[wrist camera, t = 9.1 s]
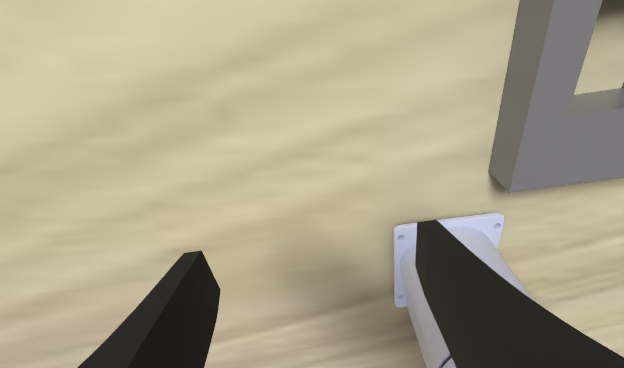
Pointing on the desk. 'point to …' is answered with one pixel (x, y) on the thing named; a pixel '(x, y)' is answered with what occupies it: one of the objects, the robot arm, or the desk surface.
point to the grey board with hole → (555, 104)
